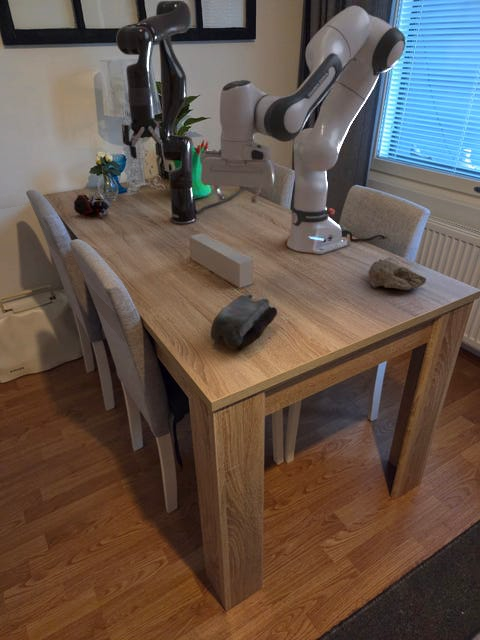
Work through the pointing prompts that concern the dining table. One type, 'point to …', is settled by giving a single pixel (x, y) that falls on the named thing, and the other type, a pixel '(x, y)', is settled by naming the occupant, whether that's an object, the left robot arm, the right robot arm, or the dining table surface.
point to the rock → (242, 322)
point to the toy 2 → (197, 172)
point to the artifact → (393, 275)
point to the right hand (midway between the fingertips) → (237, 201)
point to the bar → (222, 260)
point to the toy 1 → (90, 206)
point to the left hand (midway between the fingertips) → (146, 156)
